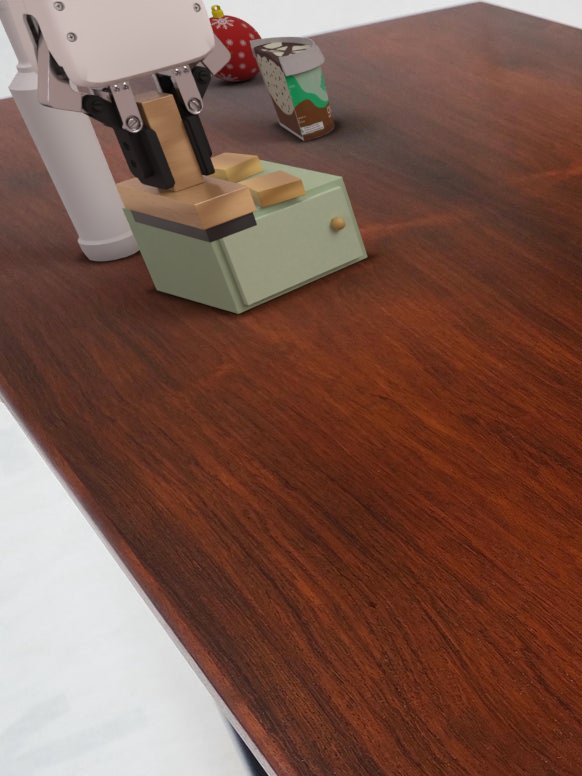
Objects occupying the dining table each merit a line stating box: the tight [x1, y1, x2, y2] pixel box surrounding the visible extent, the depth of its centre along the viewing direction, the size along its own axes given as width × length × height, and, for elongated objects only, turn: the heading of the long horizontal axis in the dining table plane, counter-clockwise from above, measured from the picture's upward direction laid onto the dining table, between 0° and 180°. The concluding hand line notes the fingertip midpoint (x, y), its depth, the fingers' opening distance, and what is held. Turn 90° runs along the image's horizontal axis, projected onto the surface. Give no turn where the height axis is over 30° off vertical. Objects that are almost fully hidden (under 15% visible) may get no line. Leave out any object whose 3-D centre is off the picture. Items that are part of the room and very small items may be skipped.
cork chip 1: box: [208, 151, 263, 183], centre depth 120 cm, size 4×4×2 cm
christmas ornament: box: [209, 4, 263, 83], centre depth 176 cm, size 9×9×10 cm
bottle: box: [0, 0, 140, 262], centre depth 120 cm, size 5×5×25 cm
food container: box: [250, 36, 335, 142], centre depth 157 cm, size 12×6×10 cm, turn 41°
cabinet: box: [122, 159, 368, 315], centre depth 119 cm, size 14×14×8 cm
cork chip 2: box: [238, 170, 306, 208], centre depth 115 cm, size 4×4×2 cm
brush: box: [115, 89, 257, 243], centre depth 87 cm, size 4×9×9 cm, turn 60°
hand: (177, 176), depth 88 cm, fingers closed on brush, 2 cm apart
